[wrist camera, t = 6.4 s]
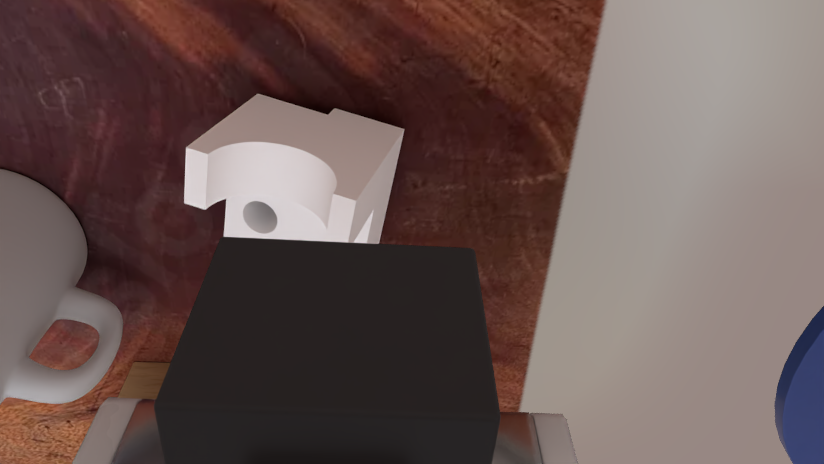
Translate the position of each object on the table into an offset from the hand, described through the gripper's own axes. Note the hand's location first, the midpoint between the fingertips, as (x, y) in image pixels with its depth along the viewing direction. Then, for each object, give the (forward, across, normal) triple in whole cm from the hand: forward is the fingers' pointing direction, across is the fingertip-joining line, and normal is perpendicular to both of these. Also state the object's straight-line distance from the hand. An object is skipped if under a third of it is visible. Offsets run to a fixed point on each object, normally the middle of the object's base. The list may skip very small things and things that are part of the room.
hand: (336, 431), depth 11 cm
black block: (+2, 0, 0) cm, 2 cm away
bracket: (+24, +4, +11) cm, 26 cm away
